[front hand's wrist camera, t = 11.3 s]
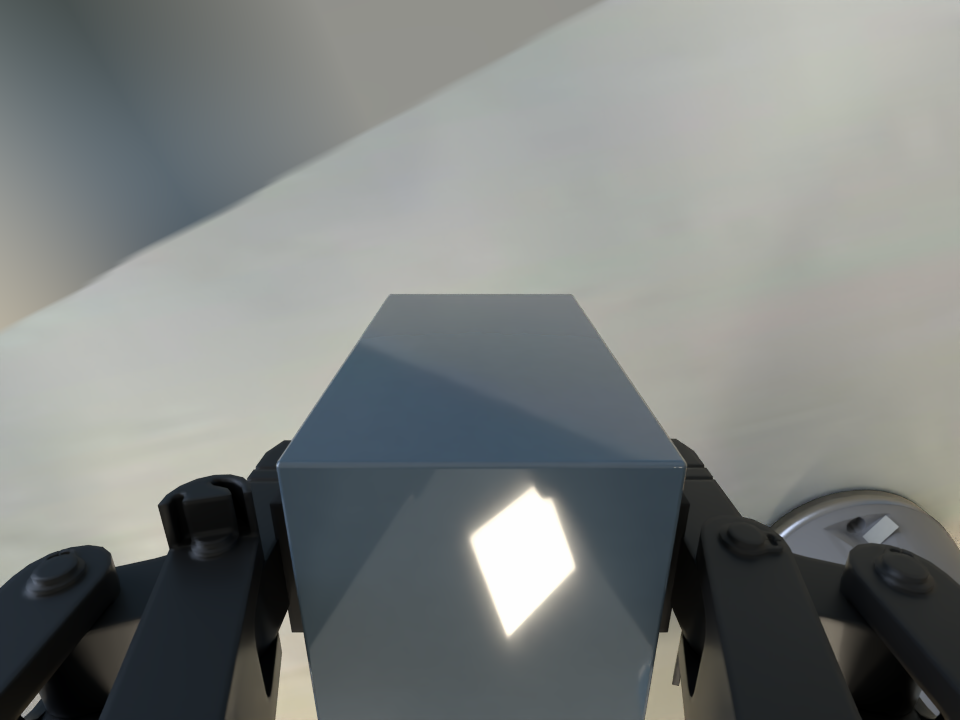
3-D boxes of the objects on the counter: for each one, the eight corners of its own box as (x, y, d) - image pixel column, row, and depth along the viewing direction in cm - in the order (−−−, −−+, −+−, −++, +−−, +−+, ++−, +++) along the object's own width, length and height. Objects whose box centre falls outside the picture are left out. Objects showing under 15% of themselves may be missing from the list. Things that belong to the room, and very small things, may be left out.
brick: (573, 293, 14) (689, 463, 6) (561, 464, 16) (640, 758, 8) (388, 293, 14) (272, 463, 6) (399, 464, 16) (322, 758, 8)
